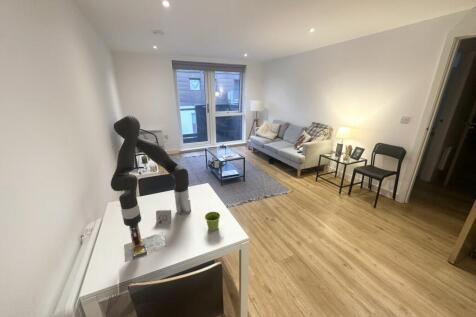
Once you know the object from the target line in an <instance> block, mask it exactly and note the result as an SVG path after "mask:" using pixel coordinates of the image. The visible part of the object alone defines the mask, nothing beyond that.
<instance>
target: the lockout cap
mask: <svg viewBox="0 0 476 317" xmlns="http://www.w3.org/2000/svg"><path fill="white" fill-rule="evenodd" d="M129 232H130V233H131V231H130V230H129ZM137 232H138V231H137ZM141 239H142V236H141V230H140V229H139V241H140V245H142V240H141ZM130 240H131V242H132V244H133V247H136V246H135V243H134V241H133V238H132V236H131V235H130ZM137 246H139V245H137Z"/></svg>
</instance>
